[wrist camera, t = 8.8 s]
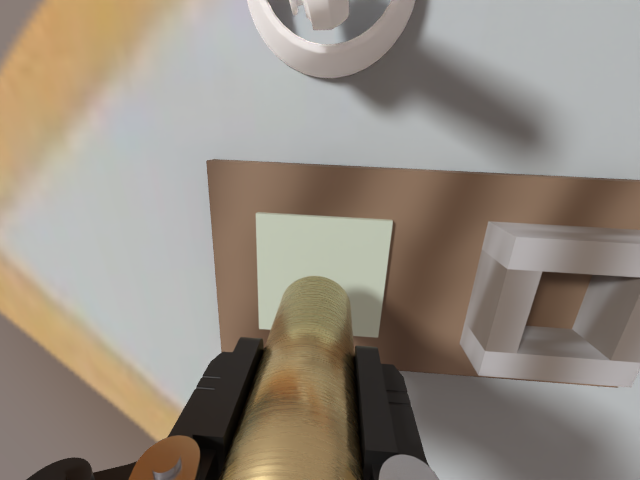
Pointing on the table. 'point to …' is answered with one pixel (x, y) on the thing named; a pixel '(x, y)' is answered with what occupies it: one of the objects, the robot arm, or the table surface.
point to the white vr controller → (325, 14)
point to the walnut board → (460, 265)
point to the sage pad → (324, 261)
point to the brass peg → (302, 394)
